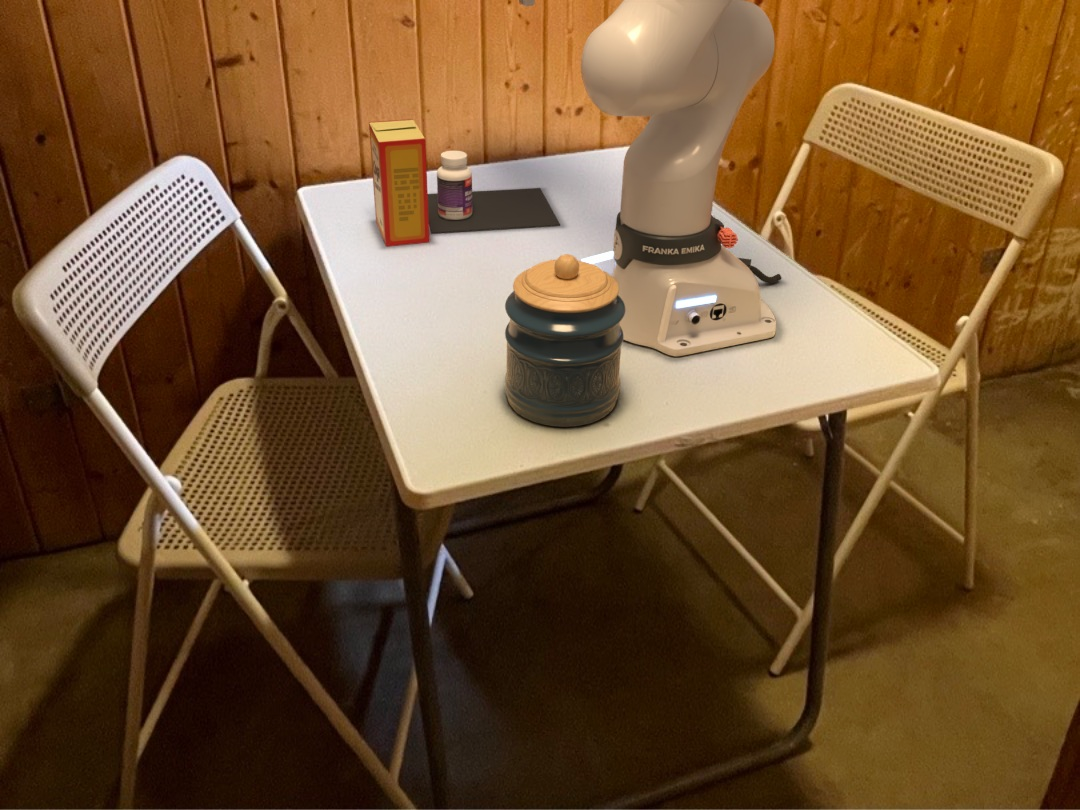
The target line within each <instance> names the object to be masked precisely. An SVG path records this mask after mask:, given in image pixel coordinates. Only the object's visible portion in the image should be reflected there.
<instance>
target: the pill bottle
mask: <svg viewBox="0 0 1080 810" xmlns="http://www.w3.org/2000/svg"><path fill="white" fill-rule="evenodd" d="M440 164H441V166H440V167H438V168H437V170H436V185H437V186H436V187H437V188H436V189H437V191H436V192H437V194H438V214H439V216H440V217H442V218H444V219H447V220H463V219H467V218H469V217H470V216H471V215H472V192H473V172H472V169H471V168H470V167H469V166H468V153H467V152H466V151H462V150H446V151H443V152H441V154H440Z"/></svg>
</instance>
